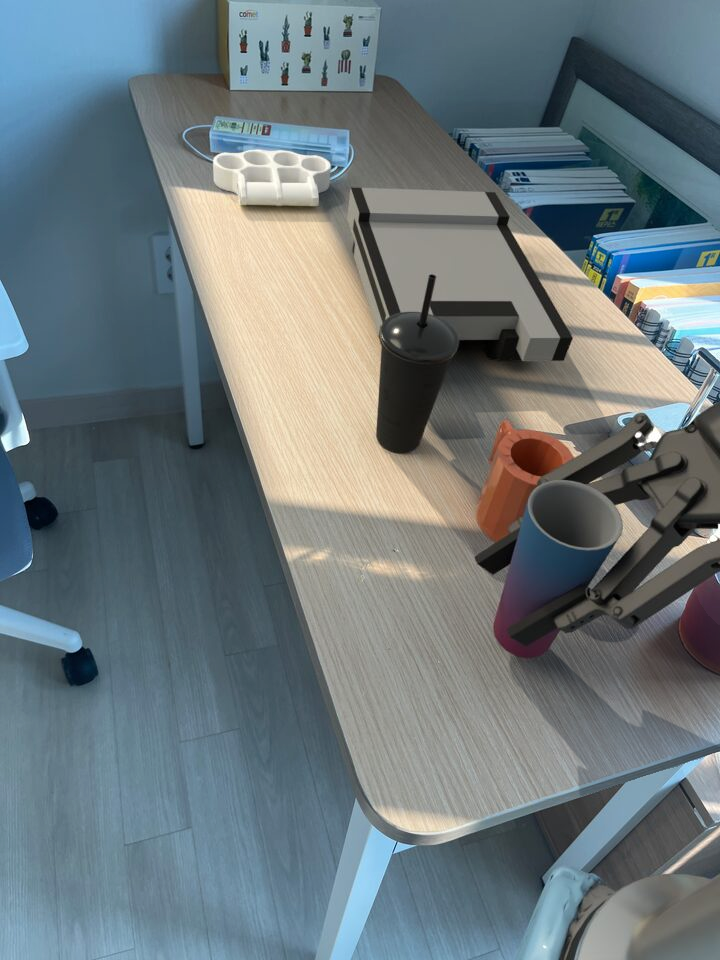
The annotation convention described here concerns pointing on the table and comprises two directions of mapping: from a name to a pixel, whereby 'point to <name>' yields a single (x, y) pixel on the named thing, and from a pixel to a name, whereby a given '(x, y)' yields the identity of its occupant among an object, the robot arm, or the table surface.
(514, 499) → the mug
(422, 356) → the drinking cup
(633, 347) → the table surface
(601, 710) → the table surface
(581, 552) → the cup
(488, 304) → the game console
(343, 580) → the table surface
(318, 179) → the knuckle duster
